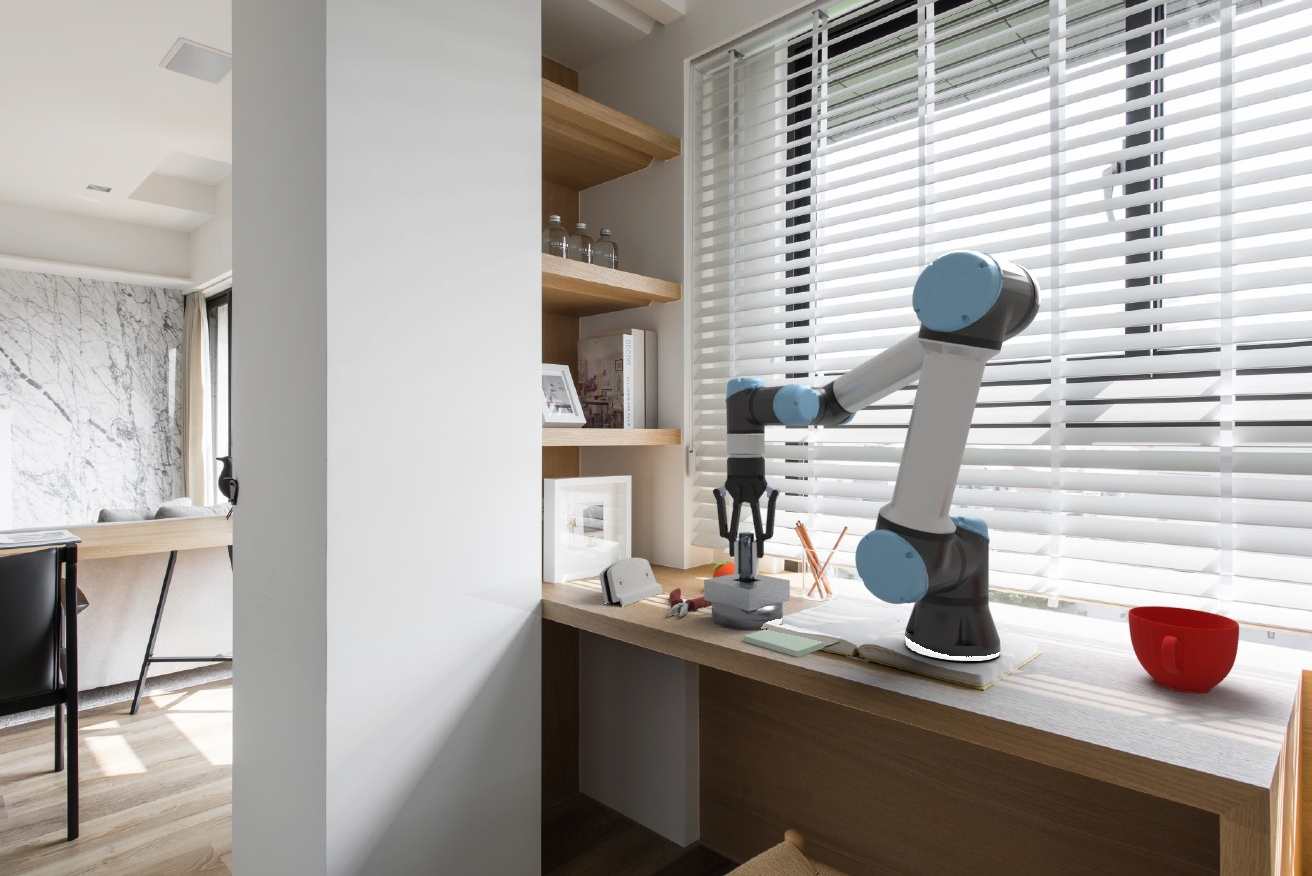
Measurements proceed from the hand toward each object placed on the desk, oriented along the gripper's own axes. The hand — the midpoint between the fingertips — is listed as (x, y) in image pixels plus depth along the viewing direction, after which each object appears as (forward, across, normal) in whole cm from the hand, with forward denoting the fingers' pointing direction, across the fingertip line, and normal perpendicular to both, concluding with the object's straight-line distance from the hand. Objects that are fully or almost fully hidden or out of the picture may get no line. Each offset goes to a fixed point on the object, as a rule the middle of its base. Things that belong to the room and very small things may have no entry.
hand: (746, 573), depth 139 cm
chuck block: (+9, 0, 0) cm, 9 cm away
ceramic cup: (+10, -67, +18) cm, 70 cm away
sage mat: (+9, -10, +12) cm, 18 cm away
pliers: (+10, +16, -7) cm, 20 cm away
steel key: (+5, 0, 0) cm, 5 cm away
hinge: (+10, +29, -11) cm, 33 cm away
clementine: (+10, +10, -23) cm, 27 cm away
